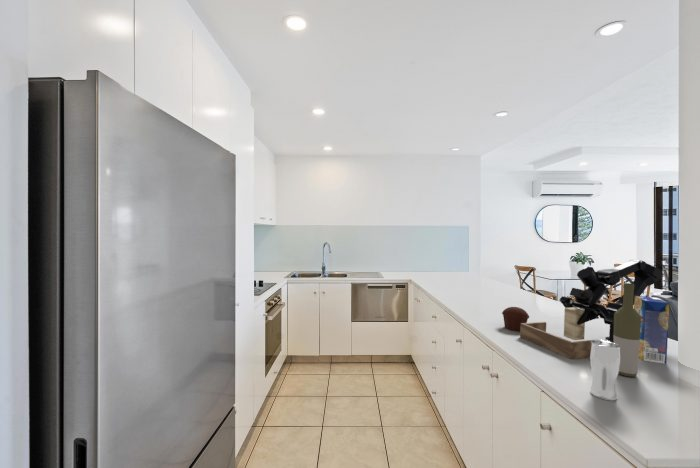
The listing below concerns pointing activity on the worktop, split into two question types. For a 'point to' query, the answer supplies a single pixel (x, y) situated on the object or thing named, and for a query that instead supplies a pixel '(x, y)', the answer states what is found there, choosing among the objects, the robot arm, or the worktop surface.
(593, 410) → the worktop surface
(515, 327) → the muffin
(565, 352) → the u-shaped wooden wall
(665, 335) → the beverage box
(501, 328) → the worktop surface
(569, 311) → the ash block
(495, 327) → the worktop surface
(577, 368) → the worktop surface
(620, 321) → the bottle
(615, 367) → the beer glass
